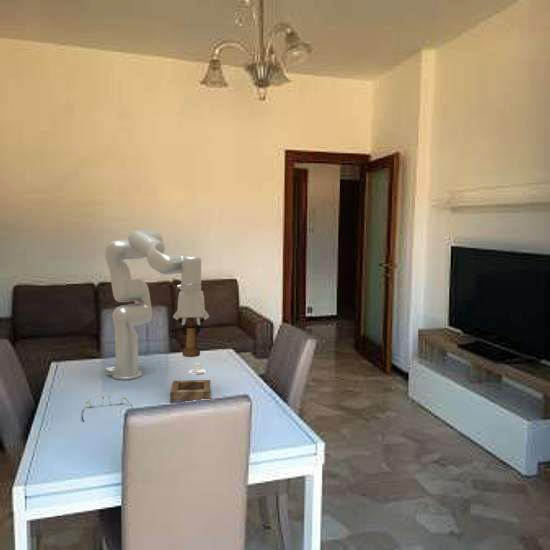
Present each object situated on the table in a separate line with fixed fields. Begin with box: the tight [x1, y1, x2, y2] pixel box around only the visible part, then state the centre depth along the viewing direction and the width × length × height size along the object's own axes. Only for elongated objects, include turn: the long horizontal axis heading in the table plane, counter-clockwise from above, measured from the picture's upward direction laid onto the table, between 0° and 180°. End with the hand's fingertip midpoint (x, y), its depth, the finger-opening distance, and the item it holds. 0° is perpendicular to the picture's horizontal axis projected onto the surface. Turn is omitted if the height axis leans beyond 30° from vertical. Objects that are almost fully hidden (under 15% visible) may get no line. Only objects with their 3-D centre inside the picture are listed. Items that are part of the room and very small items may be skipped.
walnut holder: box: [169, 379, 211, 404], centre depth 203 cm, size 15×15×4 cm
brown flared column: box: [182, 318, 201, 358], centre depth 201 cm, size 7×6×18 cm
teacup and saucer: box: [188, 362, 207, 375], centre depth 237 cm, size 9×8×4 cm
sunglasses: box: [81, 392, 134, 423], centre depth 184 cm, size 17×15×5 cm
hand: (191, 334), depth 201 cm, fingers closed on brown flared column, 3 cm apart
